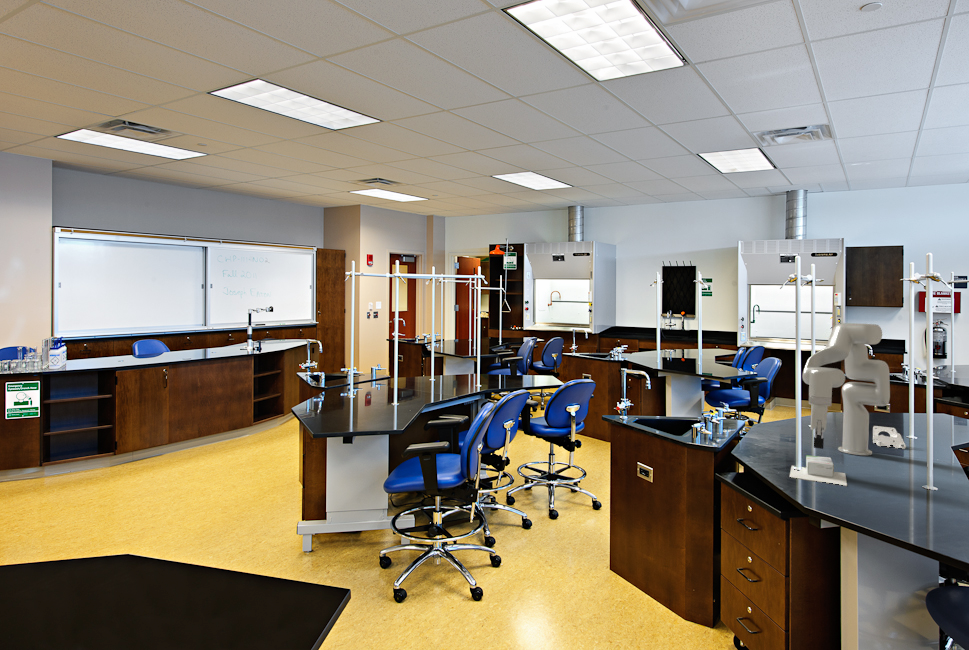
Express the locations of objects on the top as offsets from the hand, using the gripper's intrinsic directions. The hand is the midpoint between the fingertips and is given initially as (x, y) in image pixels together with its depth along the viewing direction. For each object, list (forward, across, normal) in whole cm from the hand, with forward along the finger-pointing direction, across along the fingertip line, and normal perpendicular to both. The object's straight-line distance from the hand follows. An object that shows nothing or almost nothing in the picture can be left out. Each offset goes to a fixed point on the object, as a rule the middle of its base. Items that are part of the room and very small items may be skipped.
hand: (818, 447), depth 209 cm
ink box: (+7, -5, 0) cm, 9 cm away
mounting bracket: (+10, -72, +28) cm, 78 cm away
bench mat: (+10, +6, 0) cm, 11 cm away
